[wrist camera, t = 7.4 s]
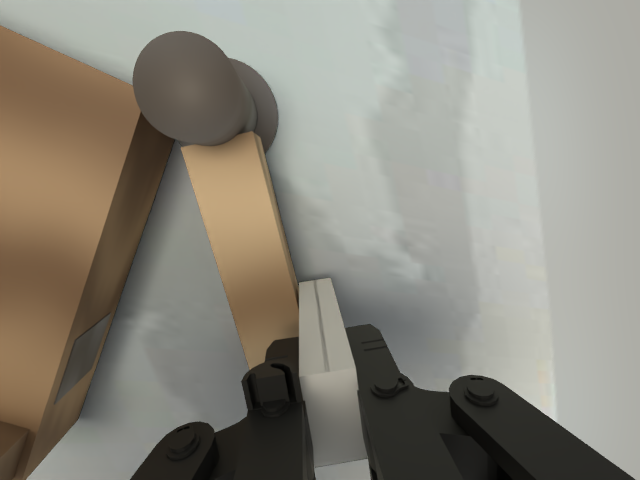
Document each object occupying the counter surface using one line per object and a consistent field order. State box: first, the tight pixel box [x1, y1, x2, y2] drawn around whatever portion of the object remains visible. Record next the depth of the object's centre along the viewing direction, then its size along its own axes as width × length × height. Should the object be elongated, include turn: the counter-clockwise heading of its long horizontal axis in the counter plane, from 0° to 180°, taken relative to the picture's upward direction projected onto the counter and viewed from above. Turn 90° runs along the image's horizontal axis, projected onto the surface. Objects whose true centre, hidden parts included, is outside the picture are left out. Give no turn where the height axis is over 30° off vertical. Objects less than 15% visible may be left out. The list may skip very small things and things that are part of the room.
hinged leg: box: [133, 31, 299, 370], centre depth 12 cm, size 14×3×4 cm, turn 13°
